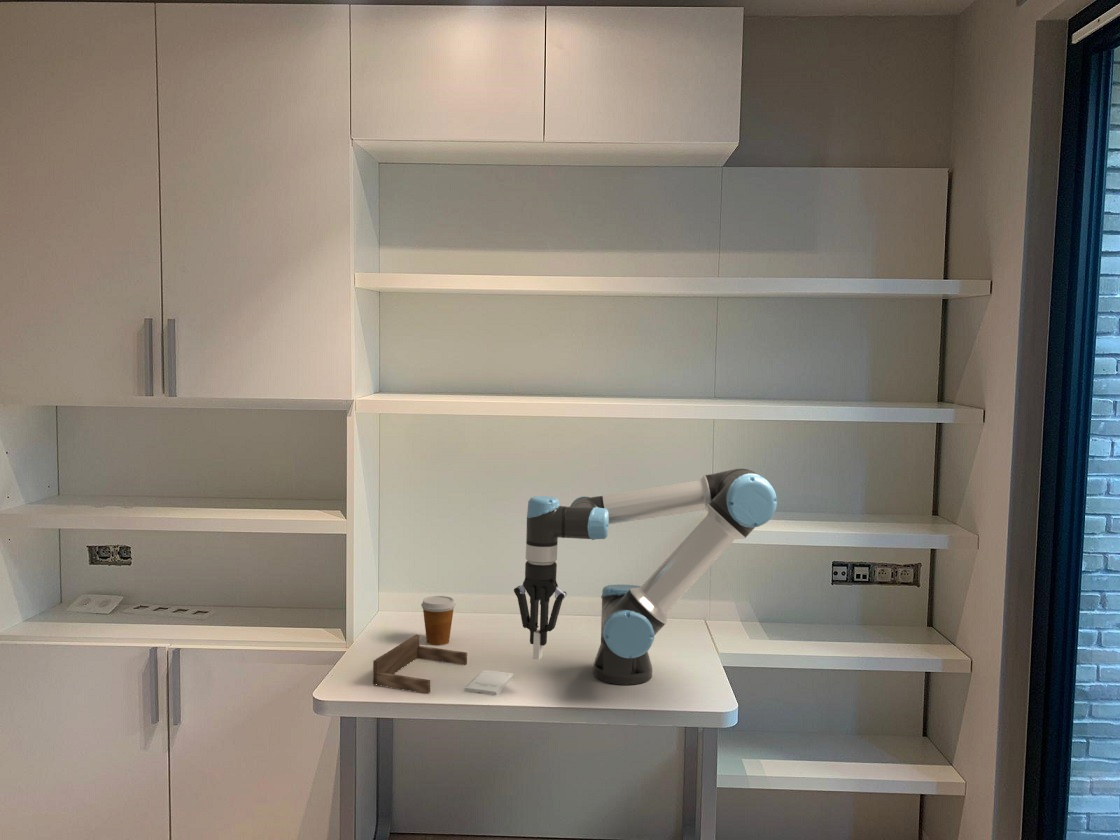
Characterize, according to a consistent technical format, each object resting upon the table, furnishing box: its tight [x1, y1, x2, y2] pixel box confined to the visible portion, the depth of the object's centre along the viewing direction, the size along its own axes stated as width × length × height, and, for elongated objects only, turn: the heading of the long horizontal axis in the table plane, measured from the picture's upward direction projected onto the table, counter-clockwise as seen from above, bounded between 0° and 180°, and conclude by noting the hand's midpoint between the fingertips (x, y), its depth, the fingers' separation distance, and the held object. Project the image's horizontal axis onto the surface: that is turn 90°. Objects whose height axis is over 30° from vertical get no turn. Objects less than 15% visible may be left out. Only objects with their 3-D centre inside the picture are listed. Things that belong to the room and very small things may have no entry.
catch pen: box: [372, 634, 468, 694], centre depth 219 cm, size 15×22×6 cm
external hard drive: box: [464, 669, 514, 697], centre depth 213 cm, size 2×8×12 cm
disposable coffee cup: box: [420, 595, 456, 646], centre depth 244 cm, size 10×10×12 cm
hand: (537, 657), depth 209 cm, fingers closed
